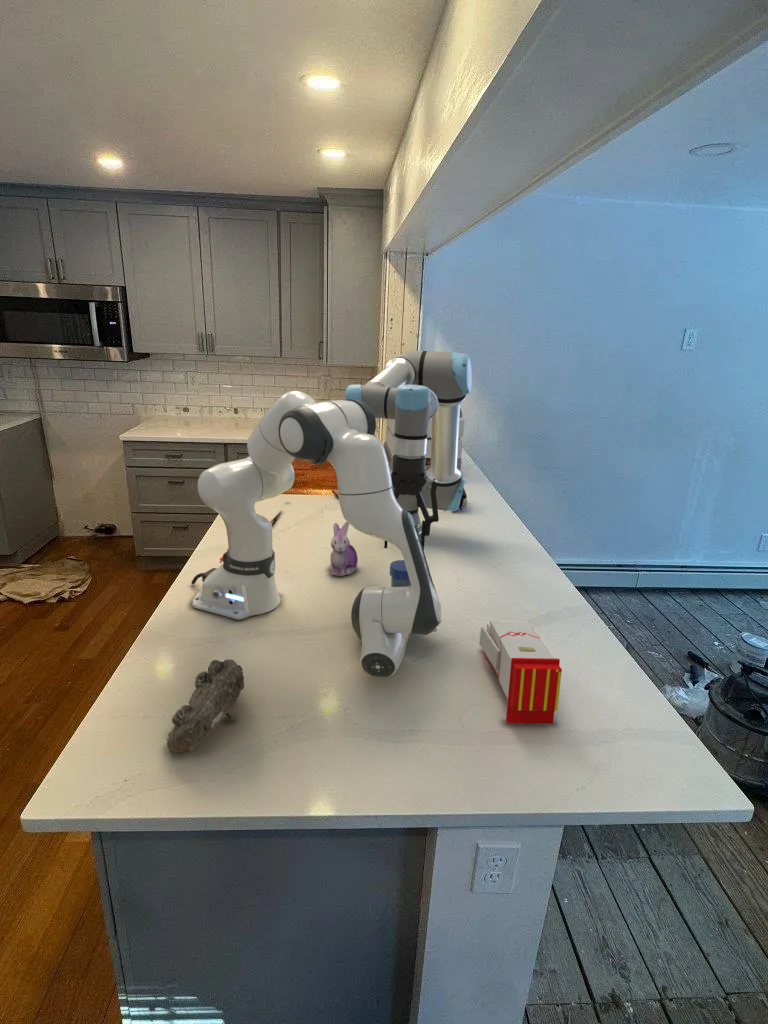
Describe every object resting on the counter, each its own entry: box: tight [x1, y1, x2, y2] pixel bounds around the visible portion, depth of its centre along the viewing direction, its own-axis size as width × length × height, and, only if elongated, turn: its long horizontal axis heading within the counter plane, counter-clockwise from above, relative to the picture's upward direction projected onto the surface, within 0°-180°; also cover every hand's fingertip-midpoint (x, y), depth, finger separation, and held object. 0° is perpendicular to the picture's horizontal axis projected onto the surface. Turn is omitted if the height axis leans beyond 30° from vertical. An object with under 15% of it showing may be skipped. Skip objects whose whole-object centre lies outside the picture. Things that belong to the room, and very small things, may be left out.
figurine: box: [329, 521, 359, 577], centre depth 168 cm, size 9×10×15 cm
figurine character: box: [457, 487, 468, 512], centre depth 228 cm, size 7×8×15 cm
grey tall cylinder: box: [390, 576, 411, 587], centre depth 141 cm, size 6×6×16 cm
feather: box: [269, 510, 282, 527], centre depth 212 cm, size 2×28×2 cm
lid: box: [389, 559, 409, 580], centre depth 139 cm, size 6×6×2 cm
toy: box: [478, 620, 563, 725], centre depth 121 cm, size 12×13×30 cm
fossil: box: [166, 658, 245, 754], centre depth 106 cm, size 22×10×15 cm
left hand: (401, 598), depth 142 cm, fingers closed on grey tall cylinder, 5 cm apart
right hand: (404, 546), depth 137 cm, fingers open, 8 cm apart
